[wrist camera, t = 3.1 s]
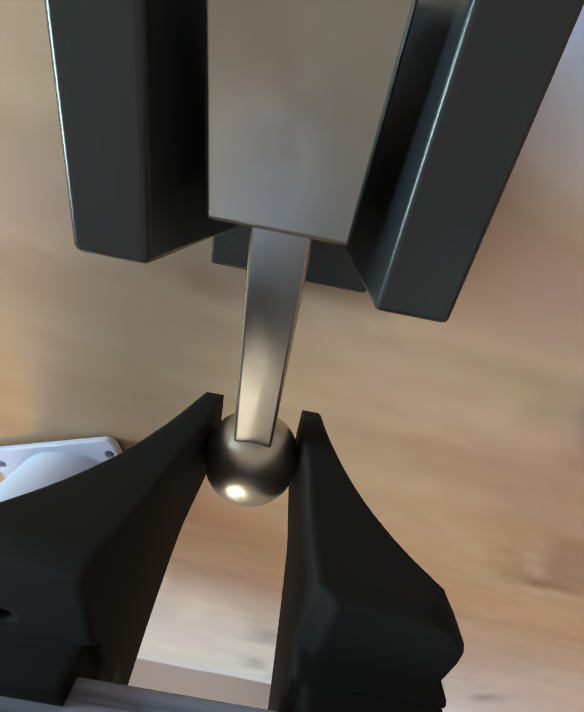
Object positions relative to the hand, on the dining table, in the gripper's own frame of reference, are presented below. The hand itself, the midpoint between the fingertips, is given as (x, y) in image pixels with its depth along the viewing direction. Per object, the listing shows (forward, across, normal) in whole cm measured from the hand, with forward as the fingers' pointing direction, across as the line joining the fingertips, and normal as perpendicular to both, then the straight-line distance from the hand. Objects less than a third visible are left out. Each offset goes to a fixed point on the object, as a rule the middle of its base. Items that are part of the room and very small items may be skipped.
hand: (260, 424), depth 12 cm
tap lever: (-1, 0, -5) cm, 5 cm away
